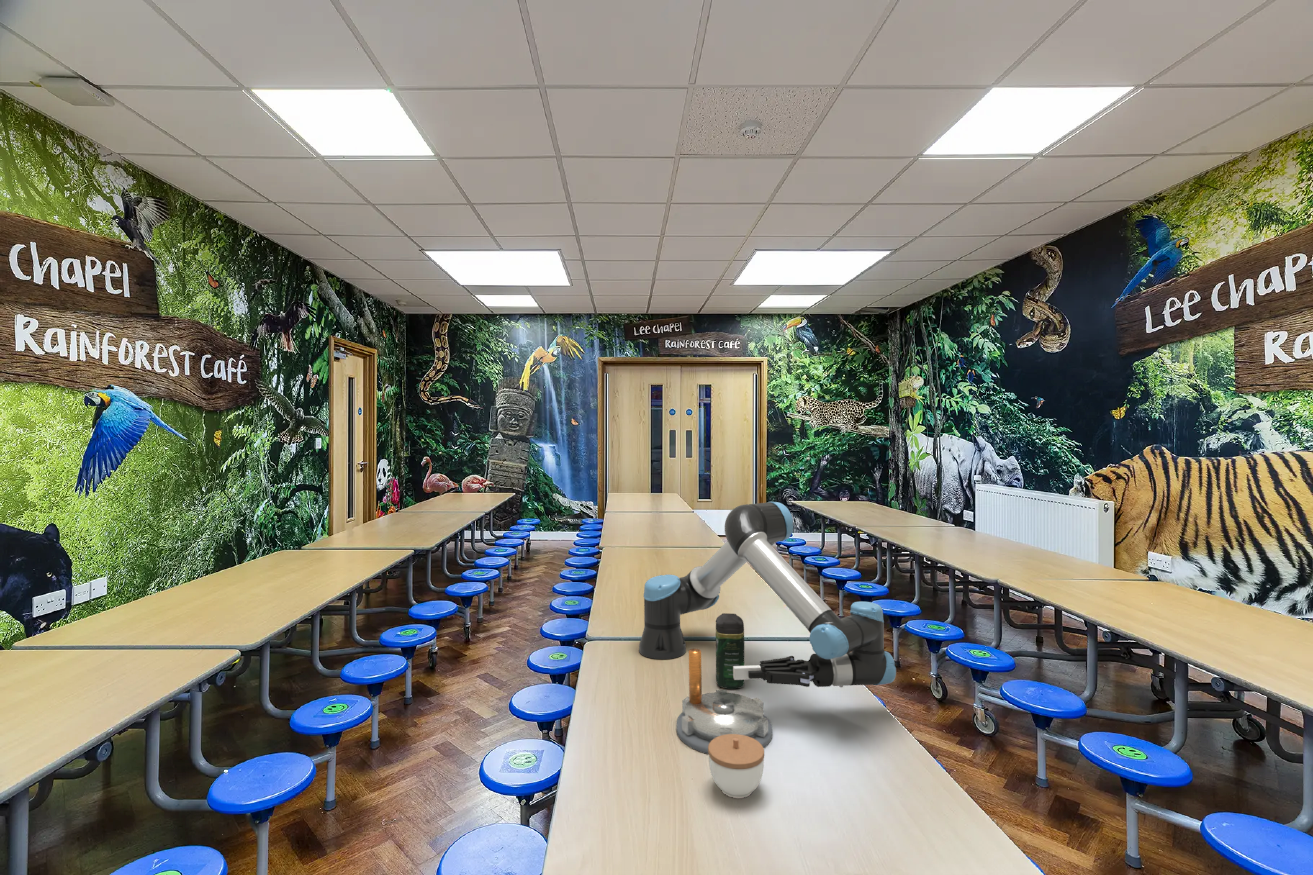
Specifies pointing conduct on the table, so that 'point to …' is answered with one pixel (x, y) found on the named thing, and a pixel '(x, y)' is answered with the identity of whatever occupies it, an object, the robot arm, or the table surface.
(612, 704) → the table surface
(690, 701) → the lugged metal dome
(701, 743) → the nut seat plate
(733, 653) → the coffee jar
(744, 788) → the lidded jar
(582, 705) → the table surface
